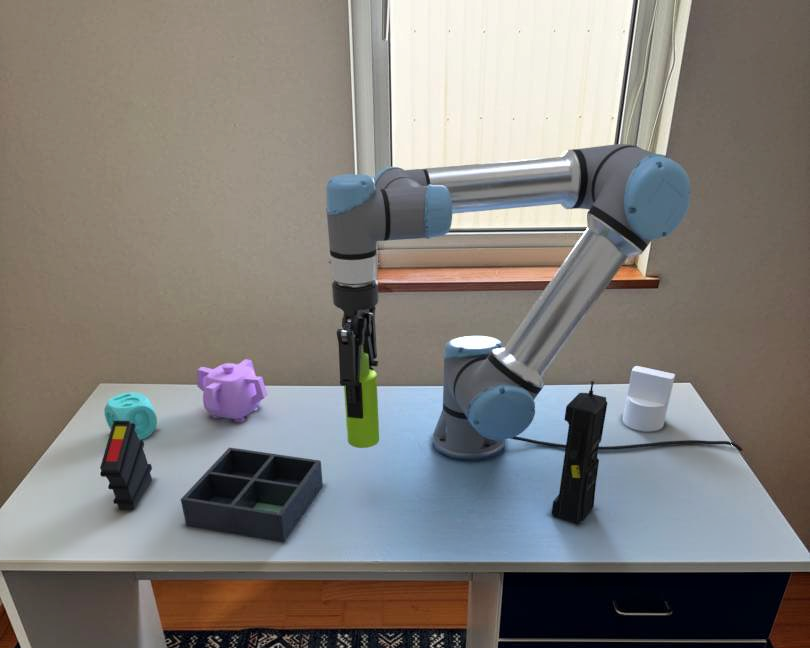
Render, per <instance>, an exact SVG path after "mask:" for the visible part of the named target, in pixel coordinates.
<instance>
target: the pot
mask: <svg viewBox="0 0 810 648" xmlns="http://www.w3.org/2000/svg"><path fill="white" fill-rule="evenodd" d="M196 374H197V377H196V378H197V380H196V381H197V385H196V386H197V388H198V389H200V391H202V393H203V394H202V403H203V408H204V410H206V412H207V413H208V414H210V415H211V416H212V418H214V419H221V418H225V419H233V420H234V423H242V422H244V421H245V419H246V418H245V417H246V416H247V415H249V414H252V412H256V411H257V410H258V406H259V405H260V403H261V401H263V400H264V399H265V398H266V397H267V396H268V392H267V388H266V384H265V382H264V379H263V376H257V375H256V371H255V368H254V363H253V361H252V360H251V359H246V358H245V359H243V360H242V361H240V362H239V363H232V362H226V363H223V364H220V365H218V366H216V367H214V368H209V367H205V366H200V367H199V368H197V373H196Z"/></svg>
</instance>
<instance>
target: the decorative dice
mask: <svg viewBox="0 0 810 648" xmlns="http://www.w3.org/2000/svg"><path fill="white" fill-rule="evenodd" d="M103 413H104V418H105V421H106V423H107V426H108V427H109V430H110V431H111V428H112V425H113V422H114V421H130V423H134V424H135V425H136V427H135V432H136V433H137V436H138V438H139V440H140V441H143V440H145V439H148V438H149V437H150V436H151V435H152V434H153V433H154V431H155V430H156V429H157V425H158V417H157V414H156V411H155V408H154V406H153V404H152V402H151V401H150V400H149V398H148V397H147V396H146V395H144V394H142V393H140V392H135V391H134V392H133V391H132V392H124V393H119V394H116V395H114V396H112V397H110V399H109V400H108V401H107V403H106V404H105V406H104V411H103Z"/></svg>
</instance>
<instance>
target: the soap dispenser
mask: <svg viewBox="0 0 810 648" xmlns="http://www.w3.org/2000/svg"><path fill="white" fill-rule="evenodd" d="M364 337H365V335H364ZM354 340H359V339H355V338H354ZM359 381H360V383H362V400H363V418H362V419H360V418H351V417H348V415H347V399H346V386H343V393H344V394H343V395H344V407H345V420H346V436H347V443H348V444H349V445H350V446H352V447H354V448H359V449H367V448H371V447H374V446H376V445H378V444H379V442H380V426H379V425H380V424H379V422H380V421H379V399H378V378H377V372H376V371H375V370H374V369H373V370H371V369H369V357H368V354H366V353H364V352H363V345H361V359H360V380H359Z"/></svg>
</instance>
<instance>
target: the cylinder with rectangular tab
mask: <svg viewBox="0 0 810 648" xmlns="http://www.w3.org/2000/svg"><path fill="white" fill-rule="evenodd" d="M675 377H676V374H675V373H672V372H667V371H662V370H659V369H653V368H649V367H644V366H639V365H635V366H633V367H632V369H631V373H630V378H629V384H628V390H627V395H626V400H625V405H624V410H623V415H622V423H623V424H624V425H625V426H626V427H628V428H629V429H632V430H635V431H639V432H645V433H646V432H647V433H651V432H657V431H659V430H662V428H663V427H664V426H665V421H666V417H667V413H668V409H669V408H668V407H669V404H670V399H671V395H672V389H673V386H674V382H675Z"/></svg>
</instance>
